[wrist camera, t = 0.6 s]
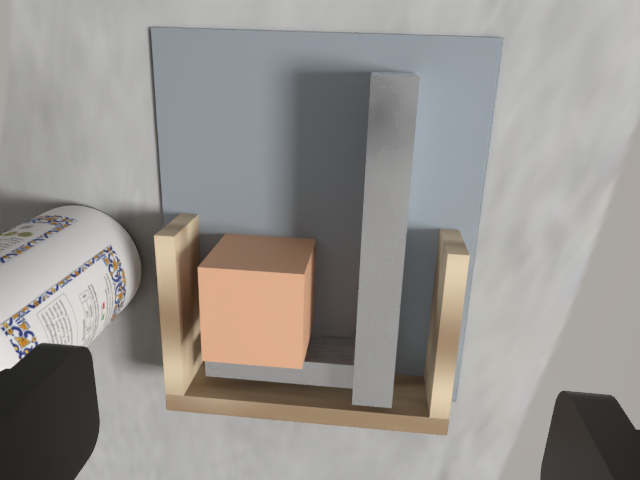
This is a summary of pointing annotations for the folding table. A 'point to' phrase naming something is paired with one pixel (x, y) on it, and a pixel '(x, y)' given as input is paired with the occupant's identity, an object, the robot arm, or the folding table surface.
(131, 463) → the folding table surface
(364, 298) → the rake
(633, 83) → the folding table surface
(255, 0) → the folding table surface
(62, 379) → the robot arm
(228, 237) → the block
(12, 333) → the bath foam
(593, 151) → the folding table surface
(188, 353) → the stall
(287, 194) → the mat
